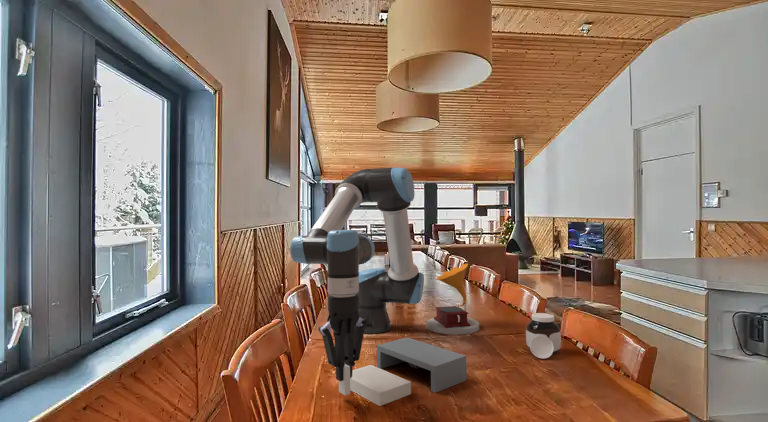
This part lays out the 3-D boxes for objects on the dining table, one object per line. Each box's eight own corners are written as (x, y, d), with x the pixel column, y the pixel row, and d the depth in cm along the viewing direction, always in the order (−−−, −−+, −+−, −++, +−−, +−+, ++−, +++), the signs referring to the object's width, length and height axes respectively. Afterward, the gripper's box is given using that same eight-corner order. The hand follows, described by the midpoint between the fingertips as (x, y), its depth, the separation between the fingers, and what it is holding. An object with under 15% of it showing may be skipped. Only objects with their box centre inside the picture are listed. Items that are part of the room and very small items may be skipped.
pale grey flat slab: (340, 385, 109) (340, 373, 109) (371, 375, 116) (371, 364, 116) (379, 406, 97) (379, 393, 97) (411, 394, 103) (410, 381, 103)
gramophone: (466, 319, 177) (465, 260, 177) (488, 332, 157) (487, 265, 157) (420, 322, 173) (419, 262, 173) (436, 336, 153) (435, 267, 153)
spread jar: (551, 347, 139) (550, 311, 139) (571, 358, 128) (571, 320, 128) (517, 349, 137) (516, 313, 137) (535, 361, 126) (535, 322, 126)
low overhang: (377, 367, 122) (376, 345, 122) (407, 358, 129) (407, 337, 129) (435, 392, 104) (435, 366, 104) (466, 380, 112) (466, 355, 112)
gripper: (328, 300, 94) (329, 406, 93) (374, 292, 102) (375, 390, 102) (311, 295, 99) (312, 395, 99) (356, 288, 108) (357, 380, 107)
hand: (344, 392), depth 100 cm, fingers closed
